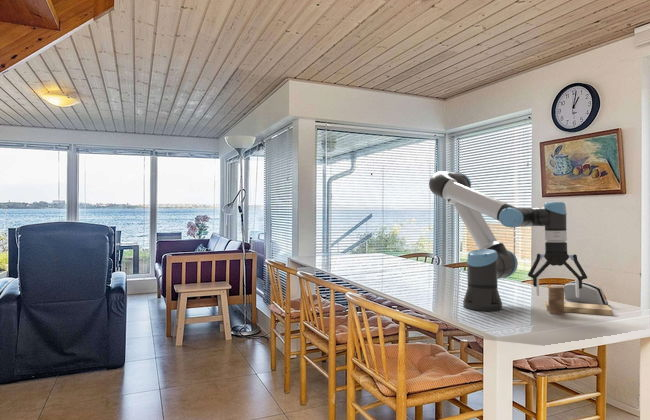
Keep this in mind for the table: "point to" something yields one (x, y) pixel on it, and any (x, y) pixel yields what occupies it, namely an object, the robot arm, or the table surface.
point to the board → (584, 308)
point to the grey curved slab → (585, 293)
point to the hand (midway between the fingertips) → (557, 296)
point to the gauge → (556, 299)
